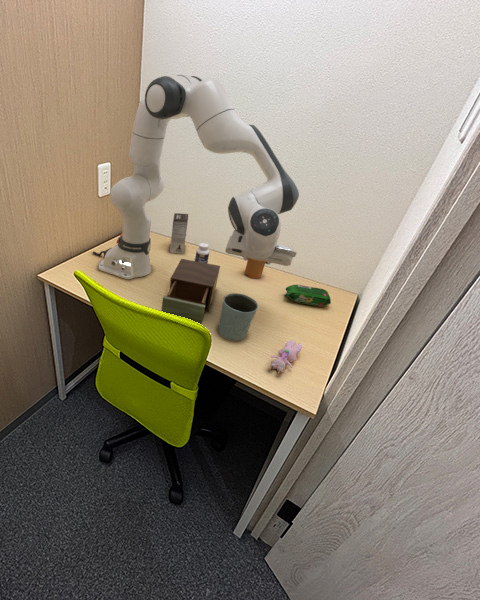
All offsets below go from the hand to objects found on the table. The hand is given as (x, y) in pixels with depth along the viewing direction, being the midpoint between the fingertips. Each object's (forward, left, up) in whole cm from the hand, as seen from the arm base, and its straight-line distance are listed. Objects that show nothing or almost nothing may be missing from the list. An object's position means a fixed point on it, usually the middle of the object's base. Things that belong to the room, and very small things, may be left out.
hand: (256, 259), depth 114 cm
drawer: (-19, -19, -16) cm, 31 cm away
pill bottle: (-20, +20, -17) cm, 33 cm away
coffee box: (-34, +32, -17) cm, 50 cm away
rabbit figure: (+13, -28, -17) cm, 35 cm away
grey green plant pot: (-2, -21, -17) cm, 27 cm away
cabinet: (-19, -5, -17) cm, 26 cm away
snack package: (+20, +8, -17) cm, 28 cm away
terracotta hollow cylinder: (0, -1, -5) cm, 5 cm away
